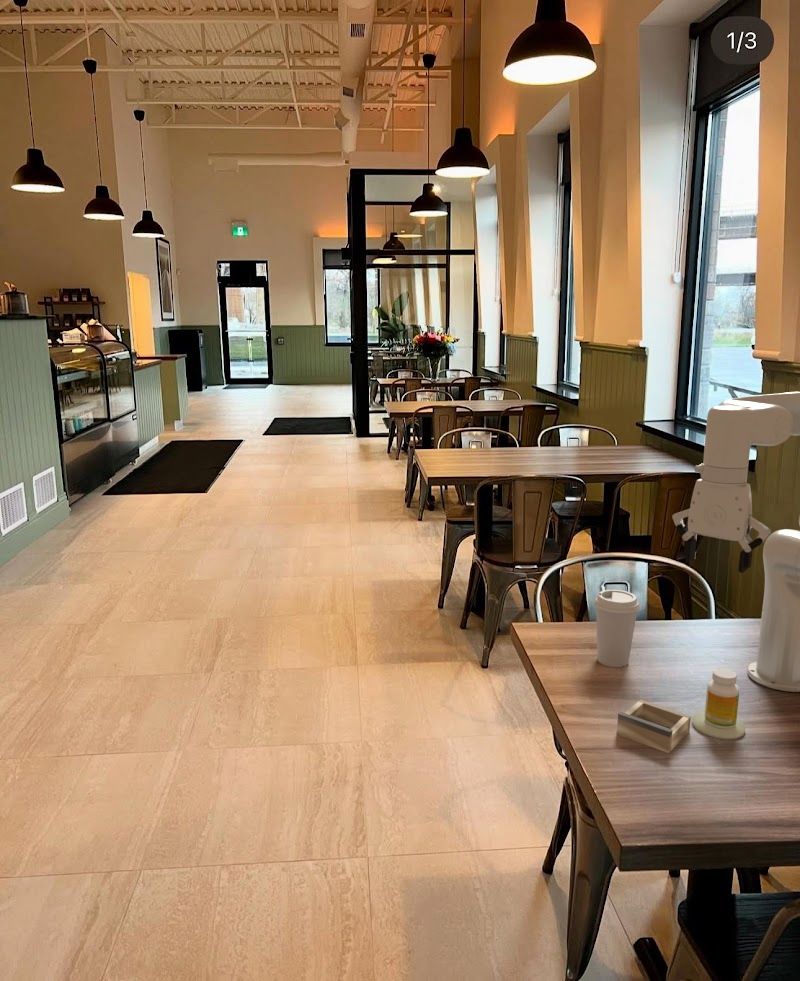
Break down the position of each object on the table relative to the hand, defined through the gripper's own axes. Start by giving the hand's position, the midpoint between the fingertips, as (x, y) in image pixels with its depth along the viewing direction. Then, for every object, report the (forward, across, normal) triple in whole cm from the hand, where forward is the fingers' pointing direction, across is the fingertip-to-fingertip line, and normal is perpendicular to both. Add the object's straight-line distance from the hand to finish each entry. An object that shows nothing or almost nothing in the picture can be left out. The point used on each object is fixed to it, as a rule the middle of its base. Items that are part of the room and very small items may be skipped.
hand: (715, 565), depth 141 cm
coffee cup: (+28, -22, +7) cm, 37 cm away
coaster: (+28, +5, -6) cm, 29 cm away
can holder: (+28, -3, -16) cm, 33 cm away
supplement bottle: (+28, +5, -6) cm, 29 cm away
